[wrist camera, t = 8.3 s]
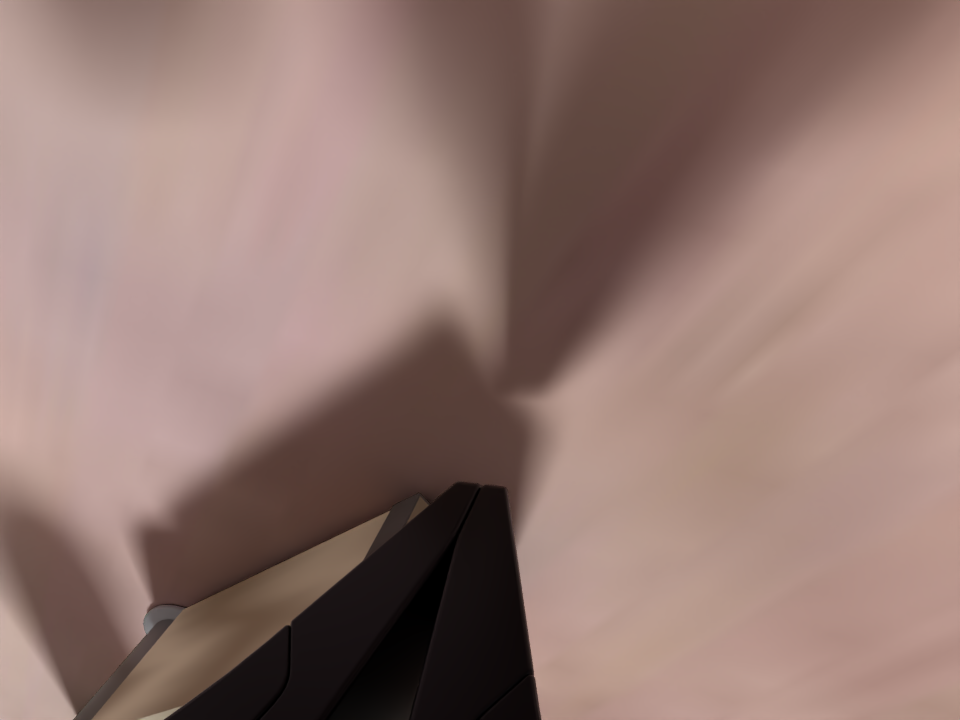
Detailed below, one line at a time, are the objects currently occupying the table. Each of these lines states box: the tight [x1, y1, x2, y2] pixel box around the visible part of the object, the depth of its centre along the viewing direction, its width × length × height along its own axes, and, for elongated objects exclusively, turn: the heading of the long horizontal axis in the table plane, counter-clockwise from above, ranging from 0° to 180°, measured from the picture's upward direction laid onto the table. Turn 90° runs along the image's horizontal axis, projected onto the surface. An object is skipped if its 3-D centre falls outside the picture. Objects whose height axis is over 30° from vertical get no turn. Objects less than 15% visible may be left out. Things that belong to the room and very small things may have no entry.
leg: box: [73, 493, 430, 720], centre depth 13 cm, size 13×3×4 cm, turn 129°
